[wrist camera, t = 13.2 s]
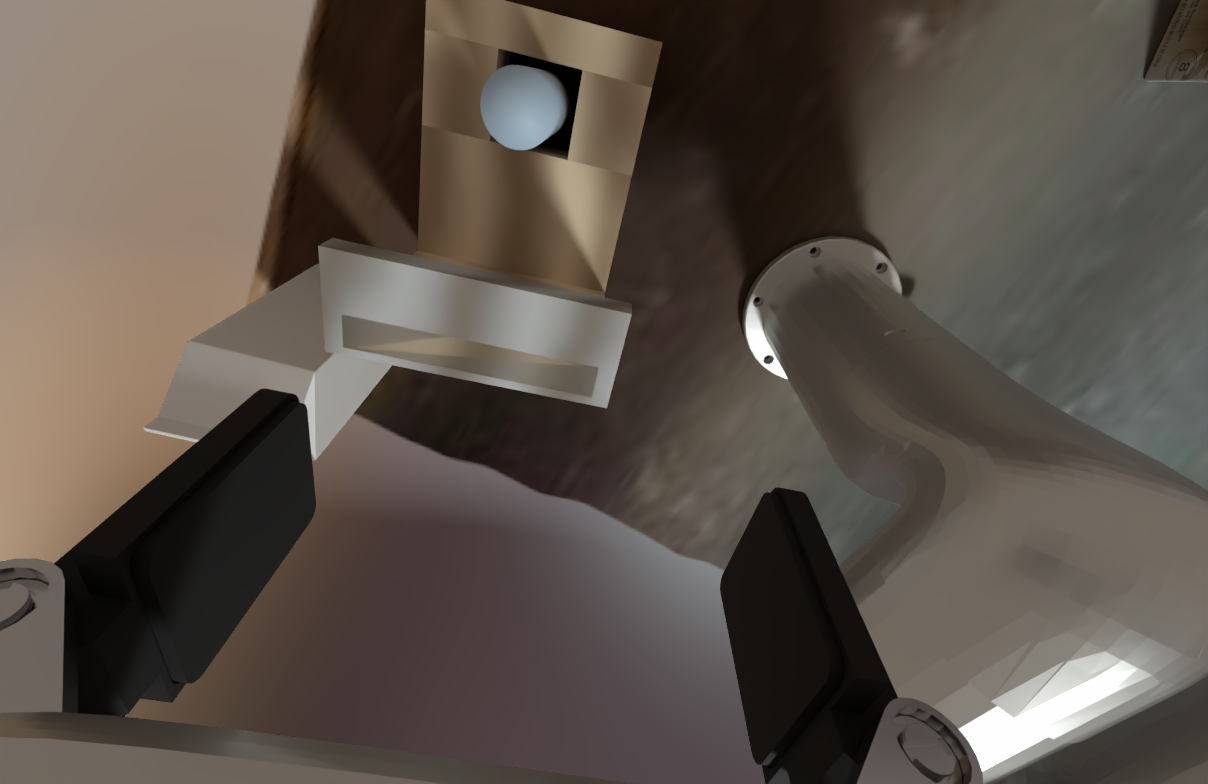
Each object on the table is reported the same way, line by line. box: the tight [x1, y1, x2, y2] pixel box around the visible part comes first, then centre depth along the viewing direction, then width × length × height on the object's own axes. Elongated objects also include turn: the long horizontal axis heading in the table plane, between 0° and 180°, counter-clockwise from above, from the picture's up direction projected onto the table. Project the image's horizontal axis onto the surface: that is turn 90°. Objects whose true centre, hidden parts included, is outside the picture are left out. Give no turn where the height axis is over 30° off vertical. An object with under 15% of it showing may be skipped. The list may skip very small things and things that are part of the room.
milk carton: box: [144, 264, 392, 461], centre depth 37 cm, size 7×7×19 cm
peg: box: [480, 65, 571, 150], centre depth 32 cm, size 4×4×10 cm
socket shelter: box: [318, 0, 663, 408], centre depth 32 cm, size 16×18×16 cm
